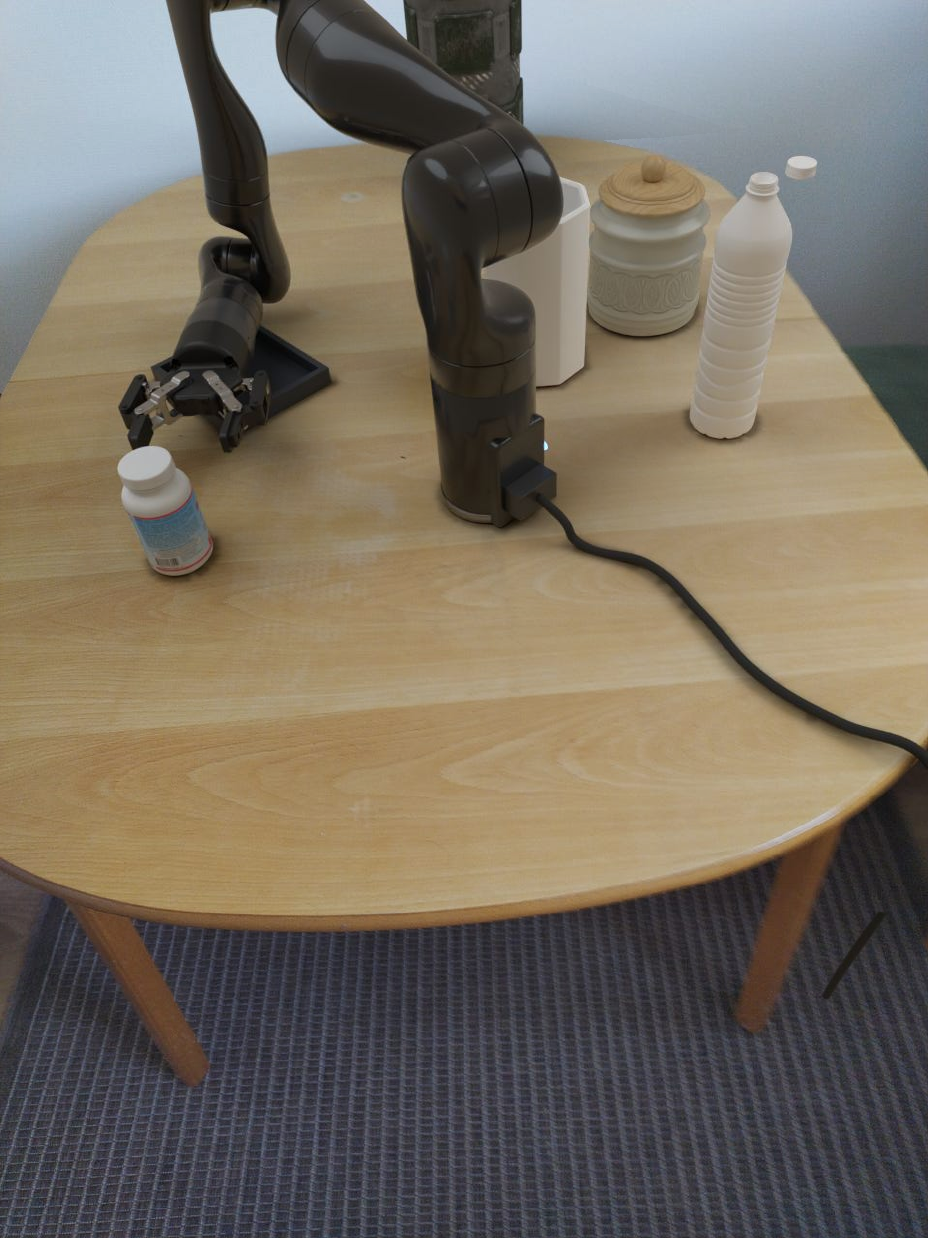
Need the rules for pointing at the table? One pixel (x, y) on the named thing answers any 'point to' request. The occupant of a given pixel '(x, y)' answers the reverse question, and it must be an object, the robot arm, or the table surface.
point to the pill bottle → (164, 511)
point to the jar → (647, 248)
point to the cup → (556, 287)
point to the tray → (273, 373)
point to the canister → (473, 45)
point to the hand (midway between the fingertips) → (181, 446)
